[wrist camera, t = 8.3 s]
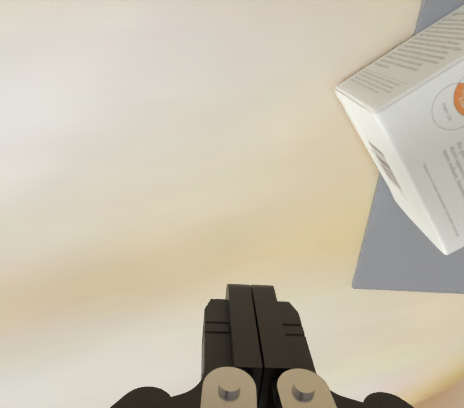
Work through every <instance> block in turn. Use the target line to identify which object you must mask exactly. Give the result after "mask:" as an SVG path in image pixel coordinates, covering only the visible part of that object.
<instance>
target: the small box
mask: <svg viewBox="0 0 464 408" xmlns="http://www.w3.org/2000/svg"><path fill="white" fill-rule="evenodd" d="M334 91H335V93H336V95H337V97H338V99H339V100H340V102H341V103H342V105H343V107H344V109H345V111H346V112H347V114H348V116H349V118H350V119H351V121H352V123H353V125H354V127H355V128H356V130H357V132H358V134H359V136H360V137H361V139H362V141H363V143H364V145H365V146H366V148H367V150H368V152H369V153H370V155H371V157H372V159H373V160H374V162H375V164H376V166H377V168H378V169H379V171H380V173H381V175H382V176H383V178H384V180H385V182H386V183H387V185H388V187H389V189H390V191H391V193H392V196H393V198H394V200H395V202H396V203H397V204H398V205H399V206H400V208H401V209H402V210H403V211H404V212H405V213H406V215H407V216H408V217H409V218H410V219H411V220H412V221H413V222H414V223H415V224H416V225H417V227H418V228H419V229H420V230H421V231H422V232H423V233H424V234H425V235H426V236H427V237H428V238H429V239H430V240H431V242H432V243H433V244H434V245H435V246H436V247H437V248H438V249H439V250H440V251H441V252H442V253H443V254H445V255H449V254H451V253H453V252H455V251H457V250H458V249H460V248H462V247H464V4H463V5H462V6H460V7H459V8H457V9H455V10H454V11H452V12H451V13H449V14H448V15H446V16H444V17H443V18H441V19H440V20H438V21H437V22H435V23H434V24H432V25H430V26H429V27H427V28H426V29H424V30H423V31H421V32H419V33H418V34H416V35H415V36H413V37H412V38H410V39H408V40H407V41H405V42H404V43H402V44H401V45H399V46H398V47H396V48H394V49H393V50H391V51H390V52H388V53H387V54H385V55H384V56H382V57H381V58H379V59H378V60H376V61H374V62H373V63H371V64H370V65H368V66H367V67H365V68H363V69H362V70H360V71H359V72H357V73H356V74H354V75H353V76H351V77H349V78H348V79H346V80H345V81H343V82H342V83H340V84H339V85H337V86H336V88H335V89H334Z"/></svg>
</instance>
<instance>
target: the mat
mask: <svg viewBox="0 0 464 408" xmlns="http://www.w3.org/2000/svg"><path fill="white" fill-rule="evenodd" d="M463 4H464V0H423V1H422V5H421V9H420V13H419V17H418V21H417V25H416V29H415V33H414V36H415V35H416V34H418V33H419V32H421V31H423V30H424V29H426V28H427V27H429V26H430V25H432V24H434V23H435V22H437V21H438V20H440V19H441V18H443V17H444V16H446V15H448V14H449V13H451V12H452V11H454V10H455V9H457V8H459V7H460V6H462V5H463ZM352 287H353V288H354V289H375V290H396V291H417V292H438V293H459V294H464V247H462V248H460V249H458V250H457V251H455V252H453V253H451V254H449V255H445V254H443V253H442V252H441V251H440V250H439V249H438V248H437V247H436V246H435V245H434V244H433V243H432V242H431V240H430V239H429V238H428V237H427V236H426V235H425V234H424V233H423V232H422V231H421V230H420V229H419V228H418V227H417V225H416V224H415V223H414V222H413V221H412V220H411V219H410V218H409V217H408V216H407V215H406V213H405V212H404V211H403V210H402V209H401V208H400V206H399V205H398V204H397V203H396V202H395V200H394V198H393V196H392V193H391V191H390V189H389V187H388V185H387V183H386V182H385V180H384V178H383V176H382V175H381V173H380V174H379V178H378V182H377V186H376V190H375V194H374V198H373V203H372V207H371V211H370V215H369V219H368V223H367V227H366V231H365V235H364V239H363V243H362V247H361V251H360V255H359V259H358V263H357V267H356V271H355V275H354V279H353V283H352Z"/></svg>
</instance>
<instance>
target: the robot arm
mask: <svg viewBox="0 0 464 408" xmlns="http://www.w3.org/2000/svg"><path fill="white" fill-rule="evenodd" d="M110 408H414V407H412V406H411V405H410V404H408V403H407V402H405V401H404V400H402V399H401V398H399V397H397V396H395V395H392V394H389V393H384V392H377V393H372V394H370V395H368V396H367V397H366V398H365V400H364V402H363V403H362V402H359V401H356V400H352V399H349V398H346V397H343V396H340V395H338V394H336V393H334V392H332V391H331V390H330V389H329V387H328V385H327V384H326V382H325V381H324V380H323V379H322V378H321V377H320V376H319V375H317V374H316V371H315V368H314V365H313V361H312V358H311V354H310V351H309V348H308V344H307V341H306V337H305V336H304V331H303V327H302V324H301V321H300V317H299V314H298V312H297V311H296V310H295V308H294V307H293V306H292V305H291V304H290V303H289V302H280V301H277V299H276V295H275V290H274V287H273V286H267V285H251V286H250V285H241V284H227V289H226V299H225V300H224V299H211V300H210V302H209V303H208V305H207V306H206V308H205V311H204V324H203V338H202V373H201V381H200V382H199V384H198V385H197V386H196V387H195V388H193V389H192V390H190V391H188V392H186V393H183V394H180V395H177V396H173V397H171V396H170V395H169V394H168V393H167V392H165V391H164V390H162V389H159V388H156V387H141V388H137V389H134V390H132V391H130V392H129V393H127V394H126V395H125V396H124V397H122V398H121V399H120V400H119V401H118V402H116V403H115V404H114V405H113V406H112V407H110Z"/></svg>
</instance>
